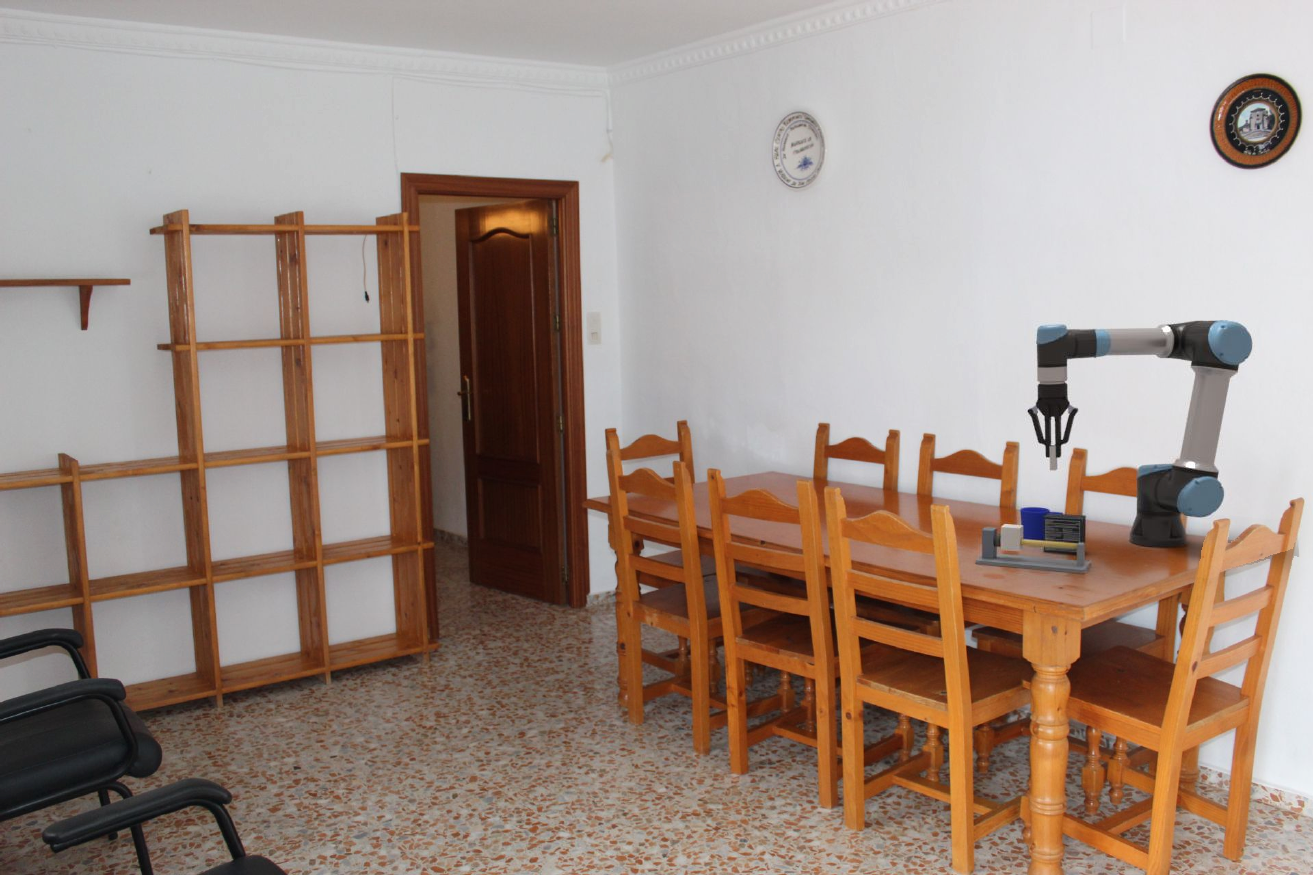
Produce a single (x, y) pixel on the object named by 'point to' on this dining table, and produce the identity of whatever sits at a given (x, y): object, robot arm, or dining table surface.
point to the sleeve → (1011, 537)
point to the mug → (1034, 522)
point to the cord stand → (992, 558)
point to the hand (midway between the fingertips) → (1053, 469)
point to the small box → (1064, 531)
